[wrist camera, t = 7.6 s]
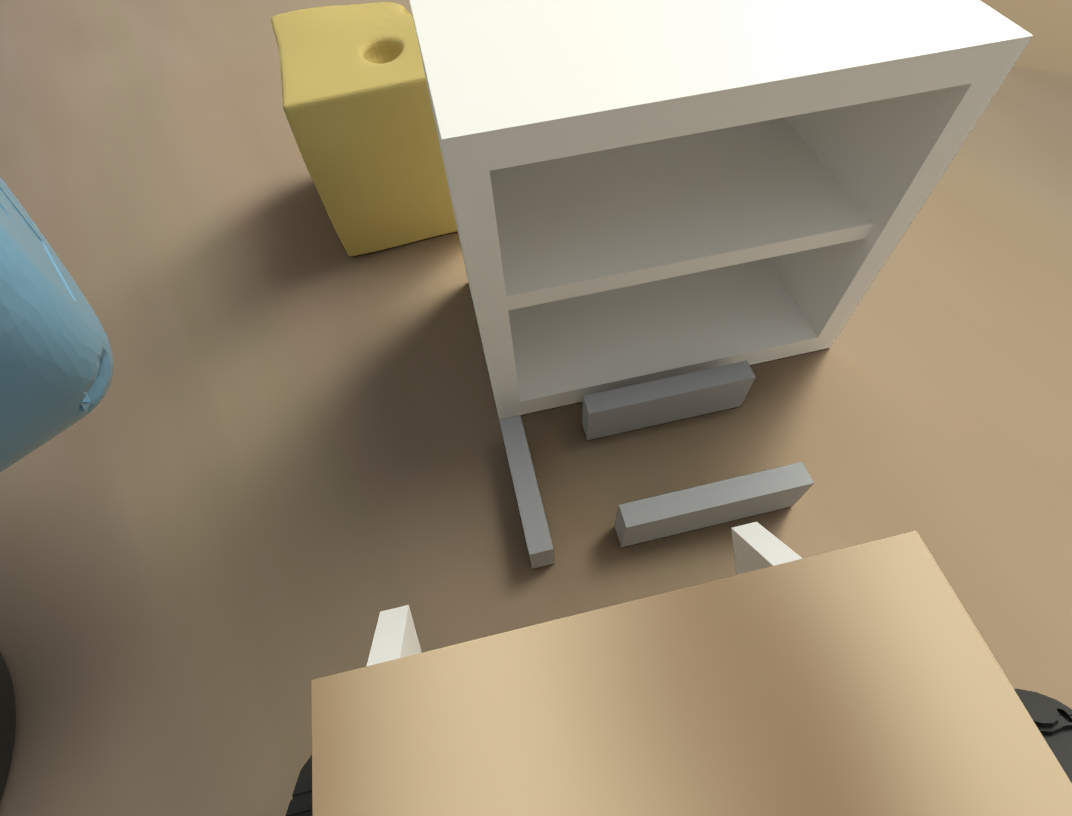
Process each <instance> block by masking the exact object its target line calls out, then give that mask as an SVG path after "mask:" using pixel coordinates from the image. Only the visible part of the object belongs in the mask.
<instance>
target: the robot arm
mask: <svg viewBox="0 0 1072 816" xmlns="http://www.w3.org/2000/svg"><path fill="white" fill-rule="evenodd" d="M112 374H113V355H112V351H111V347H110V344H109V341H108V338H107V335H106V333H105V331H104V329H103V327H102V325H101V323H100V321H99V319H98V318H97V316H96V314H95V313H94V311H93V309H92V308H91V306H90V305H89V303H88V301H87V300H86V298H85V297H84V295H83V294H82V292H81V291H80V289H79V287H78V286H77V284H76V283H75V281H74V280H73V278H72V277H71V275H70V274H69V273H68V271H67V270H66V268H65V267H64V265H63V264H62V262H61V261H60V259H59V258H58V256H57V255H56V253H55V252H54V250H53V249H52V248H51V246H50V245H49V243H48V242H47V241H46V239H45V238H44V236H43V235H42V233H41V232H40V231H39V229H38V228H37V226H36V225H35V224H34V222H33V221H32V219H31V218H30V217H29V215H28V214H27V212H26V211H25V210H24V208H23V207H22V205H21V204H20V203H19V201H18V200H17V199H16V197H15V196H14V195H13V193H12V192H11V190H10V189H9V188H8V186H7V185H6V184H5V182H4V181H3V180H2V178H1V177H0V472H2V471H3V470H5V469H6V468H8V467H9V466H11V465H12V464H14V463H15V462H17V461H18V460H20V459H22V458H23V457H25V456H26V455H28V454H29V453H31V452H32V451H34V450H35V449H37V448H38V447H40V446H41V445H43V444H44V443H46V442H47V441H49V440H50V439H52V438H53V437H55V436H56V435H58V434H60V433H61V432H63V431H64V430H66V429H67V428H69V427H70V426H72V425H73V424H75V423H76V422H78V421H79V420H81V419H82V418H84V417H85V416H86V415H88V414H89V413H90V412H91V411H92V410H93V409H94V408H95V407H96V406H97V405H98V404H99V403H100V401H101V400H102V398H103V397H104V396H105V394H106V392H107V390H108V388H109V385H110V383H111V379H112ZM731 530H732V540H733V549H734V558H735V568H736V575H738V574H742V573H746V572H750V571H755V570H759V569H763V568H767V567H771V566H775V565H779V564H783V563H787V562H791V561H795V560H799V559H803V558H801V557H800V556H799V555H798V554H796V553H795V552H794V551H793V550H791V549H790V548H789V547H788V546H786V545H785V544H784V543H783V542H781V541H780V540H779V539H778V538H776V537H775V536H774V535H773V534H771V533H770V532H769V531H768V530H766V529H765V528H764V527H763V526H761V525H760V524H759V523H758V522H753V523H749V524H745V525H741V526H737V527H732V528H731ZM419 653H422V652H421V648H420V644H419V641H418V637H417V633H416V630H415V626H414V622H413V619H412V615H411V611H410V608H409V605H406V606H402V607H398V608H393V609H389V610H385V611H381V612H380V614H379V618H378V622H377V626H376V630H375V634H374V638H373V642H372V646H371V650H370V654H369V658H368V662H367V666H370V665H374V664H378V663H382V662H386V661H390V660H394V659H398V658H403V657H407V656H411V655H415V654H419ZM1014 690H1015V692H1016V693H1017V695H1018V697H1019V698H1020V700H1021V702H1022V703H1023V705H1024V707H1025V708H1026V710H1027V711H1028V713H1029V715H1030V716H1031V718H1032V720H1033V721H1034V723H1035V724H1036V726H1037V728H1038V729H1039V731H1040V733H1041V734H1042V736H1043V737H1044V739H1045V741H1046V742H1047V744H1048V746H1049V747H1050V749H1051V750H1052V752H1053V754H1054V755H1055V757H1056V759H1057V760H1058V762H1059V763H1060V765H1061V767H1062V768H1063V770H1064V772H1065V773H1066V775H1067V776H1068V778H1069V780H1070V781H1071V783H1072V709H1070V708H1069V707H1067V706H1065V705H1064V704H1062V703H1061V702H1059V701H1057V700H1055V699H1053V698H1050V697H1047V696H1045V695H1042V694H1039V693H1037V692H1032V691H1026V690H1021V689H1014ZM15 725H16V709H15V697H14V691H13V685H12V681H11V677H10V674H9V671H8V668H7V666H6V663H5V661H4V659H3V657H2V655H1V653H0V800H1V797H2V794H3V791H4V787H5V784H6V780H7V776H8V772H9V768H10V763H11V758H12V752H13V746H14V738H15ZM292 796H293V799H292V800H291V801H290V804H289V807H288V810H287V813H286V816H313V805H312V755H311V757H310V758H309V760H308V761H307V762H306V764H305V765H304V767H303V768H302V769H301V771H300V774H299V777H298V780H297V783H296V786H295V789H294V792H293V795H292Z"/></svg>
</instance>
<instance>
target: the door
mask: <svg viewBox="0 0 1072 816" xmlns="http://www.w3.org/2000/svg"><path fill="white" fill-rule="evenodd" d="M311 693H312V805H313V816H1072V783H1071V781H1070V780H1069V778H1068V776H1067V775H1066V773H1065V772H1064V770H1063V768H1062V767H1061V765H1060V763H1059V762H1058V760H1057V759H1056V757H1055V755H1054V754H1053V752H1052V750H1051V749H1050V747H1049V746H1048V744H1047V742H1046V741H1045V739H1044V737H1043V736H1042V734H1041V733H1040V731H1039V729H1038V728H1037V726H1036V724H1035V723H1034V721H1033V720H1032V718H1031V716H1030V715H1029V713H1028V711H1027V710H1026V708H1025V707H1024V705H1023V703H1022V702H1021V700H1020V698H1019V697H1018V695H1017V693H1016V692H1015V690H1014V689H1013V687H1012V685H1011V684H1010V682H1009V680H1008V679H1007V677H1006V676H1005V674H1004V672H1003V671H1002V669H1001V667H1000V666H999V664H998V663H997V661H996V659H995V658H994V656H993V654H992V653H991V651H990V650H989V648H988V646H987V645H986V643H985V641H984V640H983V638H982V637H981V635H980V633H979V632H978V630H977V628H976V627H975V625H974V624H973V622H972V620H971V619H970V617H969V615H968V614H967V612H966V611H965V609H964V607H963V606H962V604H961V602H960V601H959V599H958V597H957V596H956V594H955V593H954V591H953V589H952V588H951V586H950V584H949V583H948V581H947V580H946V578H945V576H944V575H943V573H942V571H941V570H940V568H939V567H938V565H937V563H936V562H935V560H934V558H933V557H932V555H931V554H930V552H929V550H928V549H927V547H926V545H925V544H924V542H923V541H922V539H921V537H920V536H919V534H918V532H917V531H912V532H908V533H904V534H900V535H896V536H892V537H888V538H884V539H880V540H876V541H872V542H868V543H864V544H860V545H856V546H852V547H848V548H844V549H839V550H835V551H831V552H827V553H823V554H819V555H815V556H811V557H807V558H803V559H799V560H795V561H791V562H787V563H783V564H779V565H775V566H771V567H767V568H763V569H759V570H755V571H750V572H746V573H742V574H738V575H734V576H730V577H726V578H722V579H718V580H714V581H710V582H706V583H702V584H698V585H694V586H690V587H686V588H682V589H678V590H674V591H670V592H666V593H661V594H657V595H653V596H649V597H645V598H641V599H637V600H633V601H629V602H625V603H621V604H617V605H613V606H609V607H605V608H601V609H597V610H593V611H589V612H585V613H581V614H577V615H572V616H568V617H564V618H560V619H556V620H552V621H548V622H544V623H540V624H536V625H532V626H528V627H524V628H520V629H516V630H512V631H508V632H504V633H500V634H496V635H492V636H487V637H483V638H479V639H475V640H471V641H467V642H463V643H459V644H455V645H451V646H447V647H443V648H439V649H435V650H431V651H427V652H423V653H419V654H415V655H411V656H407V657H403V658H398V659H394V660H390V661H386V662H382V663H378V664H374V665H370V666H366V667H362V668H358V669H354V670H350V671H346V672H342V673H338V674H334V675H330V676H326V677H322V678H318V679H314V680H311Z"/></svg>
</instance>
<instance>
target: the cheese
mask: <svg viewBox="0 0 1072 816" xmlns="http://www.w3.org/2000/svg"><path fill="white" fill-rule="evenodd" d="M271 22H272V26H273V30H274V33H275V37H276V40H277V44H278V48H279V54H280V66H281V78H282V92H283V108H284V111H285V114H286V117H287V119H288V122H289V124H290V127H291V129H292V132H293V134H294V137H295V139H296V142H297V144H298V147H299V149H300V152H301V154H302V157H303V159H304V162H305V164H306V166H307V169H308V171H309V173H310V175H311V178H312V180H313V182H314V185H315V187H316V189H317V191H318V194H319V196H320V198H321V200H322V202H323V205H324V207H325V209H326V211H327V214H328V216H329V218H330V220H331V222H332V225H333V227H334V229H335V231H336V233H337V235H338V237H339V238H340V240H341V242H342V244H343V246H344V248H345V250H346V252H347V254H348V255H349V256H357V255H362V254H366V253H371V252H376V251H380V250H384V249H388V248H392V247H396V246H400V245H404V244H407V243H411V242H415V241H419V240H423V239H427V238H431V237H434V236H439V235H443V234H448V233H452V232H457V231H458V230H457V225H456V220H455V216H454V211H453V206H452V201H451V197H450V192H449V187H448V182H447V177H446V173H445V168H444V163H443V158H442V154H441V149H440V144H439V139H438V134H437V130H436V125H435V120H434V115H433V111H432V106H431V101H430V96H429V92H428V87H427V82H426V77H425V72H424V68H423V63H422V58H421V53H420V49H419V44H418V39H417V34H416V30H415V25H414V20H413V15H411V14H410V13H409V12H408V11H407V10H406V9H405V8H404V7H403V6H402V5H398V4H396V3H393V2H379V3H368V4H356V5H340V6H324V7H316V8H308V9H301V10H295V11H291V12H287V13H283V14H279V15H276V16H273V17H272V19H271Z"/></svg>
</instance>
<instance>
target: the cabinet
mask: <svg viewBox="0 0 1072 816" xmlns="http://www.w3.org/2000/svg"><path fill="white" fill-rule="evenodd" d="M409 1H410V6H411V10H412V15H413V20H414V25H415V30H416V34H417V39H418V44H419V49H420V53H421V58H422V63H423V68H424V72H425V77H426V82H427V87H428V92H429V96H430V101H431V106H432V111H433V115H434V120H435V125H436V130H437V134H438V139H439V144H440V149H441V154H442V158H443V163H444V168H445V173H446V177H447V182H448V187H449V192H450V197H451V201H452V206H453V211H454V216H455V220H456V225H457V230H458V235H459V239H460V244H461V249H462V254H463V259H464V263H465V268H466V273H467V278H468V282H469V287H470V291H471V296H472V300H473V305H474V309H475V314H476V318H477V323H478V327H479V332H480V336H481V341H482V345H483V350H484V354H485V359H486V363H487V368H488V373H489V377H490V382H491V386H492V391H493V395H494V400H495V404H496V409H497V413H498V418H499V420H500V419H501V420H500V425H501V430H502V435H503V440H504V445H505V449H506V454H507V458H508V463H509V467H510V472H511V476H512V481H513V485H514V490H515V494H516V499H517V503H518V508H519V512H520V517H521V521H522V526H523V530H524V535H525V539H526V544H527V548H528V553H529V557H530V562H531V566H532V569H534V568H538V567H542V566H546V565H550V564H554V563H555V562H554V548H553V544H552V540H551V536H550V532H549V528H548V524H547V520H546V516H545V512H544V508H543V504H542V500H541V496H540V492H539V488H538V484H537V480H536V476H535V472H534V468H533V464H532V460H531V456H530V452H529V448H528V444H527V440H526V436H525V432H524V428H523V424H522V420H521V415H523V414H527V413H532V412H537V411H541V410H546V409H550V408H555V407H560V406H564V405H569V404H573V403H578V402H583V410H582V425H583V428H584V432H585V435H586V438H587V440H591V439H596V438H600V437H605V436H609V435H614V434H618V433H623V432H627V431H632V430H636V429H641V428H645V427H650V426H654V425H659V424H663V423H668V422H672V421H677V420H681V419H685V418H690V417H694V416H699V415H703V414H708V413H712V412H717V411H721V410H726V409H730V408H735V407H739V406H742V404H743V402H744V400H745V398H746V396H747V394H748V392H749V390H750V388H751V386H752V384H753V382H754V380H755V378H756V376H755V374H754V373H753V371H752V369H751V367H750V365H753V364H757V363H762V362H766V361H771V360H776V359H780V358H785V357H789V356H794V355H799V354H803V353H808V352H812V351H817V350H822V349H826V348H830V347H831V346H832V344H833V343H834V341H835V340H836V338H837V336H838V335H839V333H840V332H841V330H842V329H843V327H844V326H845V324H846V323H847V321H848V320H849V318H850V317H851V315H852V313H853V312H854V310H855V309H856V307H857V306H858V304H859V303H860V301H861V300H862V298H863V297H864V295H865V293H866V292H867V290H868V289H869V287H870V286H871V284H872V283H873V281H874V280H875V278H876V277H877V275H878V273H879V272H880V270H881V269H882V267H883V266H884V264H885V263H886V261H887V260H888V258H889V257H890V255H891V254H892V252H893V250H894V249H895V247H896V246H897V244H898V243H899V241H900V240H901V238H902V237H903V235H904V234H905V232H906V230H907V229H908V227H909V226H910V224H911V223H912V221H913V220H914V218H915V217H916V215H917V214H918V212H919V210H920V209H921V207H922V206H923V204H924V203H925V201H926V200H927V198H928V197H929V195H930V194H931V192H932V190H933V189H934V187H935V186H936V184H937V183H938V181H939V180H940V178H941V177H942V175H943V174H944V172H945V171H946V169H947V167H948V166H949V164H950V163H951V161H952V160H953V158H954V157H955V155H956V154H957V152H958V151H959V149H960V147H961V146H962V144H963V143H964V141H965V140H966V138H967V137H968V135H969V134H970V132H971V131H972V129H973V127H974V126H975V124H976V123H977V121H978V120H979V118H980V117H981V115H982V114H983V112H984V111H985V109H986V108H987V106H988V104H989V103H990V101H991V100H992V98H993V97H994V95H995V94H996V92H997V91H998V89H999V88H1000V86H1001V84H1002V83H1003V81H1004V80H1005V78H1006V77H1007V75H1008V74H1009V72H1010V71H1011V69H1012V68H1013V66H1014V64H1015V63H1016V61H1017V60H1018V58H1019V57H1020V55H1021V54H1022V52H1023V51H1024V49H1025V47H1026V46H1027V44H1028V43H1029V41H1030V40H1031V38H1032V37H1033V35H1032V34H1030V33H1029V32H1027V31H1026V30H1024V29H1022V28H1021V27H1020V26H1018V25H1016V24H1015V23H1013V22H1012V21H1010V20H1009V19H1007V18H1006V17H1004V16H1003V15H1001V14H1000V13H998V12H997V11H995V10H994V9H992V8H991V7H989V6H987V5H986V4H985V3H983V2H982V1H980V0H409ZM518 415H520V416H518ZM514 416H515V417H514ZM509 417H511V418H509ZM504 418H506V419H504ZM813 484H814V482H813V480H812V479H811V477H810V475H809V473H808V471H807V470H806V468H805V466H804V464H803V462H799V463H795V464H791V465H787V466H782V467H778V468H774V469H770V470H765V471H761V472H757V473H752V474H748V475H744V476H740V477H735V478H731V479H727V480H723V481H718V482H714V483H710V484H705V485H701V486H697V487H693V488H688V489H684V490H680V491H676V492H671V493H667V494H663V495H658V496H654V497H650V498H646V499H641V500H637V501H633V502H628V503H624V504H620V505H619V507H618V512H617V516H616V521H615V529H616V533H617V536H618V539H619V542H620V545H621V547H625V546H629V545H634V544H638V543H642V542H646V541H650V540H654V539H658V538H663V537H667V536H671V535H675V534H679V533H683V532H688V531H692V530H696V529H700V528H704V527H708V526H713V525H717V524H721V523H725V522H729V521H733V520H738V519H742V518H746V517H750V516H754V515H758V514H762V513H767V512H771V511H775V510H779V509H783V508H787V507H792V506H793V505H794V504H795V503H796V502H797V501H798V500H799V499H800V498H801V497H802V496H803V494H804V493H805V492H806V491H807V490H808V489H809V488H810V487H811V486H812V485H813Z"/></svg>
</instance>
